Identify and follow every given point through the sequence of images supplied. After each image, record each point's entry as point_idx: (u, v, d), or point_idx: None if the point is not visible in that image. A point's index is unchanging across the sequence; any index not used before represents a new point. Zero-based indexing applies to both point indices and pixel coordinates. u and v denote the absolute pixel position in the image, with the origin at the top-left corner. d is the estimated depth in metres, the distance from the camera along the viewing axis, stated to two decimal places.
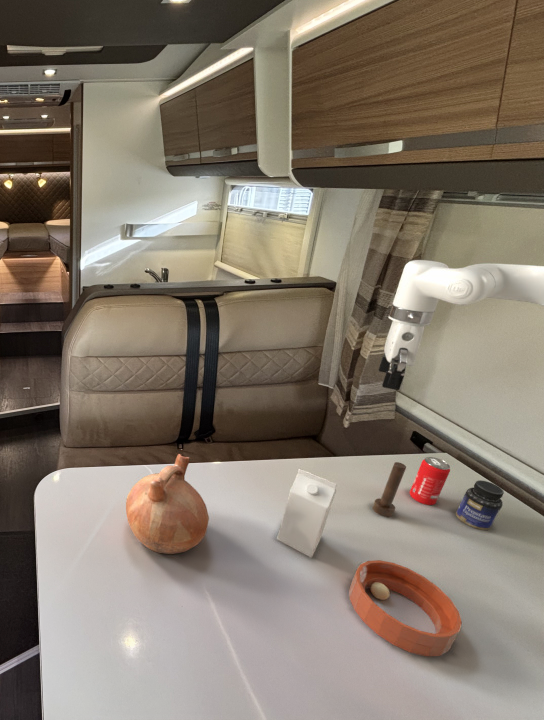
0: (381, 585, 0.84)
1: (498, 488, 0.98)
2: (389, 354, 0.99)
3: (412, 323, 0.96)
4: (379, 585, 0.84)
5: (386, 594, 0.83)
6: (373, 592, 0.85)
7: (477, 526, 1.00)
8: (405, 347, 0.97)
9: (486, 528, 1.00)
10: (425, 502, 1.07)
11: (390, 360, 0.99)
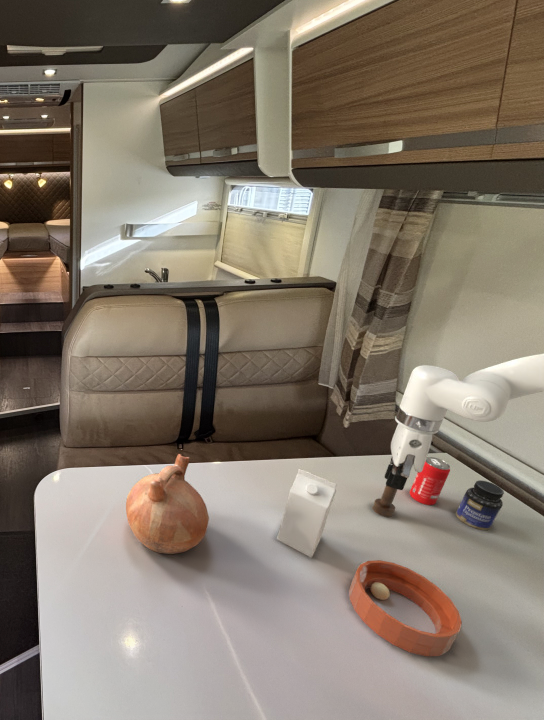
0: (381, 585, 0.84)
1: (498, 488, 0.98)
2: (396, 458, 0.97)
3: (420, 430, 0.93)
4: (379, 585, 0.84)
5: (386, 594, 0.83)
6: (373, 592, 0.85)
7: (477, 526, 1.00)
8: (413, 454, 0.94)
9: (486, 528, 1.00)
10: (425, 502, 1.07)
11: (394, 465, 0.98)
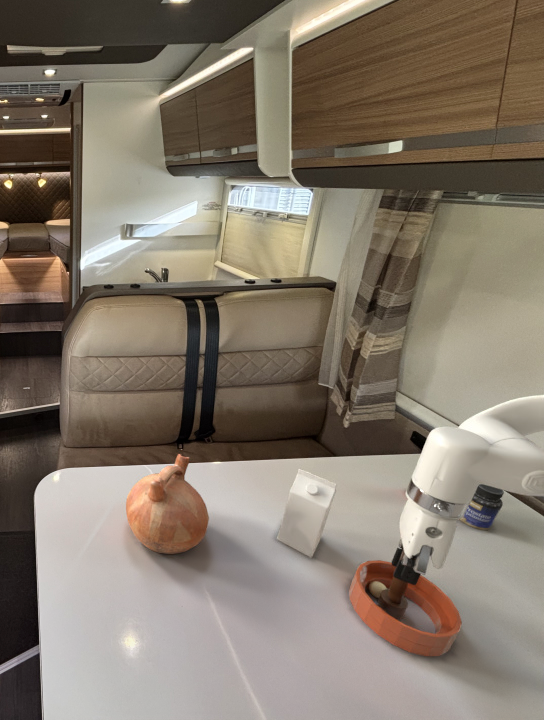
0: (378, 583, 0.85)
1: None
2: (408, 548, 0.73)
3: (440, 515, 0.69)
4: (376, 583, 0.85)
5: None
6: (371, 591, 0.85)
7: (477, 526, 1.00)
8: (430, 545, 0.70)
9: (486, 528, 1.00)
10: None
11: (405, 554, 0.75)
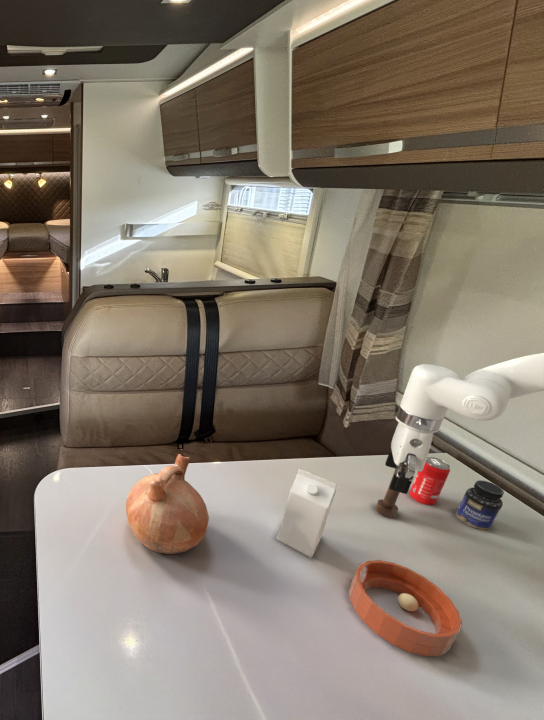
0: None
1: (498, 488, 0.98)
2: (397, 457, 0.97)
3: (420, 430, 0.93)
4: None
5: (402, 607, 0.83)
6: (415, 608, 0.81)
7: (477, 526, 1.00)
8: (413, 453, 0.94)
9: (486, 528, 1.00)
10: (425, 502, 1.07)
11: (398, 464, 0.96)
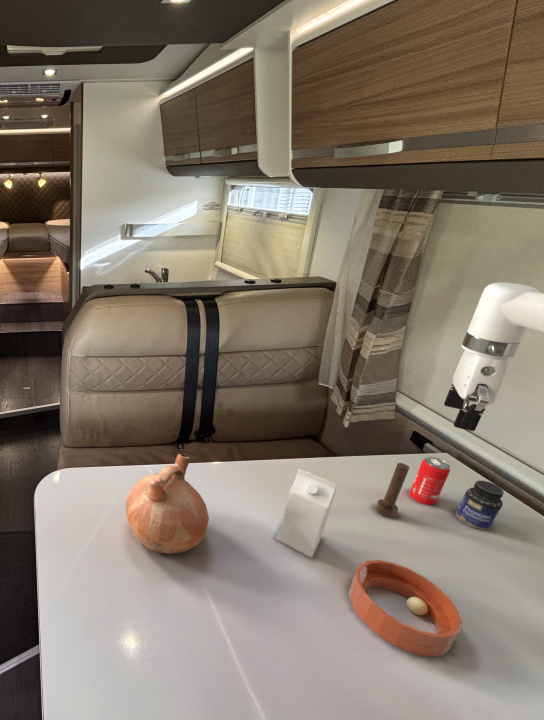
0: None
1: (498, 488, 0.98)
2: (464, 390, 0.86)
3: (494, 356, 0.83)
4: None
5: (410, 606, 0.82)
6: None
7: (477, 526, 1.00)
8: (484, 383, 0.84)
9: (486, 528, 1.00)
10: (425, 502, 1.07)
11: (465, 397, 0.86)
